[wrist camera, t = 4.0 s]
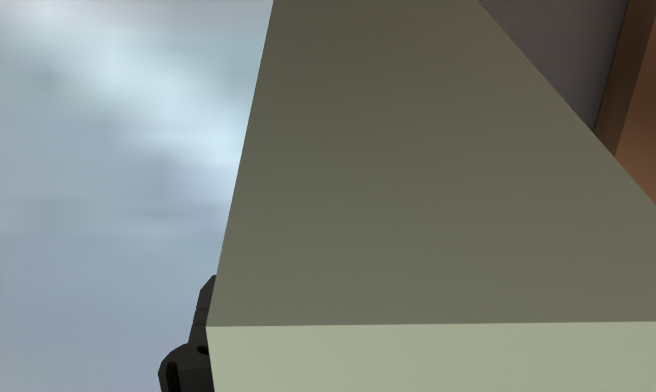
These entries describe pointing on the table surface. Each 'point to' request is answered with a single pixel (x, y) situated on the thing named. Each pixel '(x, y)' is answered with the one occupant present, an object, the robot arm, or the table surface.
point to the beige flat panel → (425, 218)
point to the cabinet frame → (633, 98)
